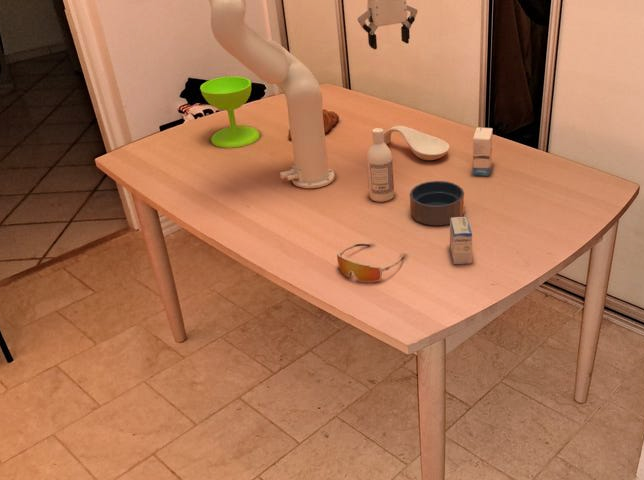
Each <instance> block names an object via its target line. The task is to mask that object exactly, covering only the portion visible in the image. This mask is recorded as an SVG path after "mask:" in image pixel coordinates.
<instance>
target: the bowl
mask: <svg viewBox="0 0 644 480" xmlns="http://www.w3.org/2000/svg"><path fill="white" fill-rule="evenodd" d="M409 209H410V216H411V217H412V218H413V219H414V220H415V221H416V222H418V223H421V224H422V225H428V226H445V225H446V226H447V225H450V218H454V217H464V215H465V214H464V213H465V192H464V189H463V188H462V187H461V186H460V185H458V184H456V183H453V182H450V181H445V180H432V181H426V182H422V183H419V184H417V185H415V186H414V187H412V189H411V190H410V193H409Z"/></svg>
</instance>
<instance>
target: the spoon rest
mask: <svg viewBox="0 0 644 480" xmlns="http://www.w3.org/2000/svg"><path fill="white" fill-rule="evenodd" d="M395 132H397V133H399V134H401V135H402V136H403V138H404V140H405V142H406V144H407V145H408V147H409V149H410V150H411V151H412V153H413V154H414V155H415V156H416V157H418V158H419V159H421V160H423V161H434V160H439V159H441V158H442V157H444V156H446V154H447V153H449V150H450V147H451V146H450V144H449V143H448V142H446V140H444V139H442V138H439V137H436V136H434V135H430V134H428V133H425V132H423V131H419V130H417V129H414V128H411V127H409V126H405V125H394V126H392V127H391V128H388V129H387V130H385V131H383V135H384V143H385V144H386V145H388V144H390V143H391V141H392V133H395Z"/></svg>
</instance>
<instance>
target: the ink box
mask: <svg viewBox="0 0 644 480" xmlns="http://www.w3.org/2000/svg"><path fill="white" fill-rule="evenodd" d="M493 130H494V129H493V128H492V127H480V126H479V127H476V128H475V132H474V133H473V138H472V176H476V177H477V176H480V177H490V173H491V170H492V165H493V164H492V163H493V161H492V160H493Z"/></svg>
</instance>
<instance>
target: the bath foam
mask: <svg viewBox="0 0 644 480" xmlns="http://www.w3.org/2000/svg"><path fill="white" fill-rule="evenodd" d="M371 133H372V143H371V145H370V147H369V148H368V151H367V154H366V168H367V183H368V194H369V195H368V196H369V198H370V199H371V200H372V201H375V202H376V203H377V202H379V203H383V202H384V203H385V202H388V201H391V200H392V199H393V198H394V197H395V185H394V183H395V181H394V164H393V163H394V161H393V154H392V152H391V150H390V148H389V146H388V144H385V143H384V135H383V134H384V129H383V128H381V127H375V128H373V129H372V130H371Z"/></svg>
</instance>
